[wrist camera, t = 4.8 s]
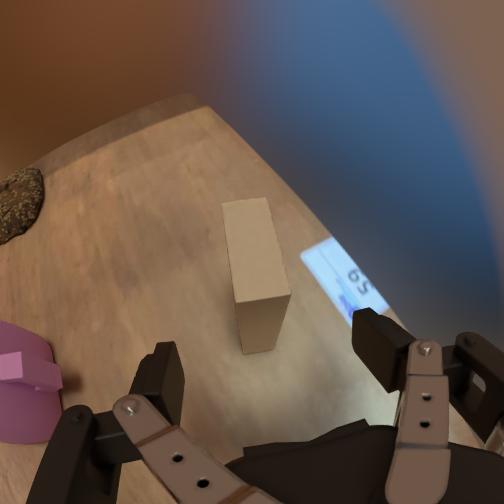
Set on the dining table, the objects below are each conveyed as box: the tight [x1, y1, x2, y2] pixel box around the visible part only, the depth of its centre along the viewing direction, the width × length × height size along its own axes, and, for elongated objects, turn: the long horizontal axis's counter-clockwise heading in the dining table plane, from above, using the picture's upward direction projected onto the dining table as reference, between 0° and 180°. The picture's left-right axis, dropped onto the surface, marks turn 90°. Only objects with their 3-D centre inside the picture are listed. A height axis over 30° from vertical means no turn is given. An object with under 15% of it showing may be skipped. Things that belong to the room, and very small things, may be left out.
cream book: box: [221, 197, 292, 355], centre depth 18 cm, size 2×6×11 cm, turn 10°
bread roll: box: [0, 168, 43, 243], centre depth 28 cm, size 13×12×5 cm
